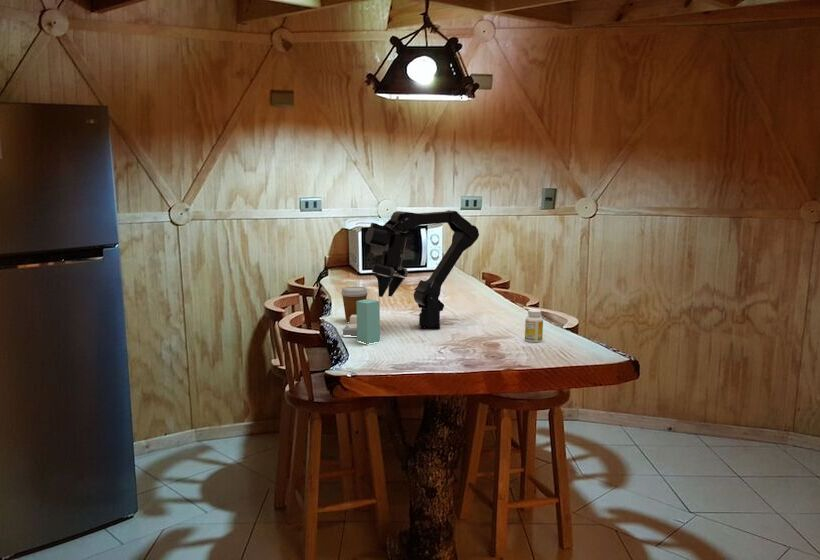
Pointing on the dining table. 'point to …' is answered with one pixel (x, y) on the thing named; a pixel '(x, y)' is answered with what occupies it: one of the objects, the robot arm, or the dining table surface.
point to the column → (368, 321)
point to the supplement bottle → (534, 326)
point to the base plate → (351, 326)
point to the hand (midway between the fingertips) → (385, 296)
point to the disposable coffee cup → (352, 299)
